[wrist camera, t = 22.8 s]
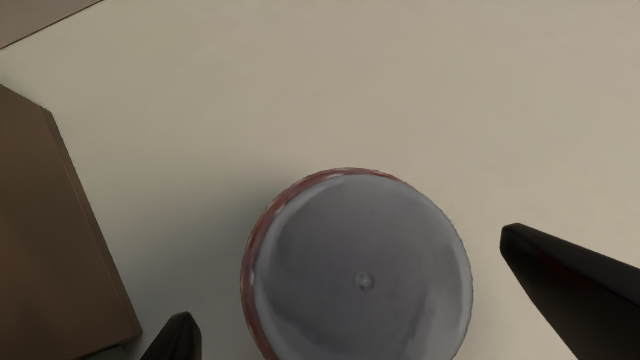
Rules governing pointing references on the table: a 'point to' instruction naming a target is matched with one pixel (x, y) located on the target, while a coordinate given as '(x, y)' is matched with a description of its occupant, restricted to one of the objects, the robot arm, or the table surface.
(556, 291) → the robot arm
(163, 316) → the table surface
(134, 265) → the table surface
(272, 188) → the table surface
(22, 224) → the cabinet
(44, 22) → the architectural model
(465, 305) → the supplement bottle
